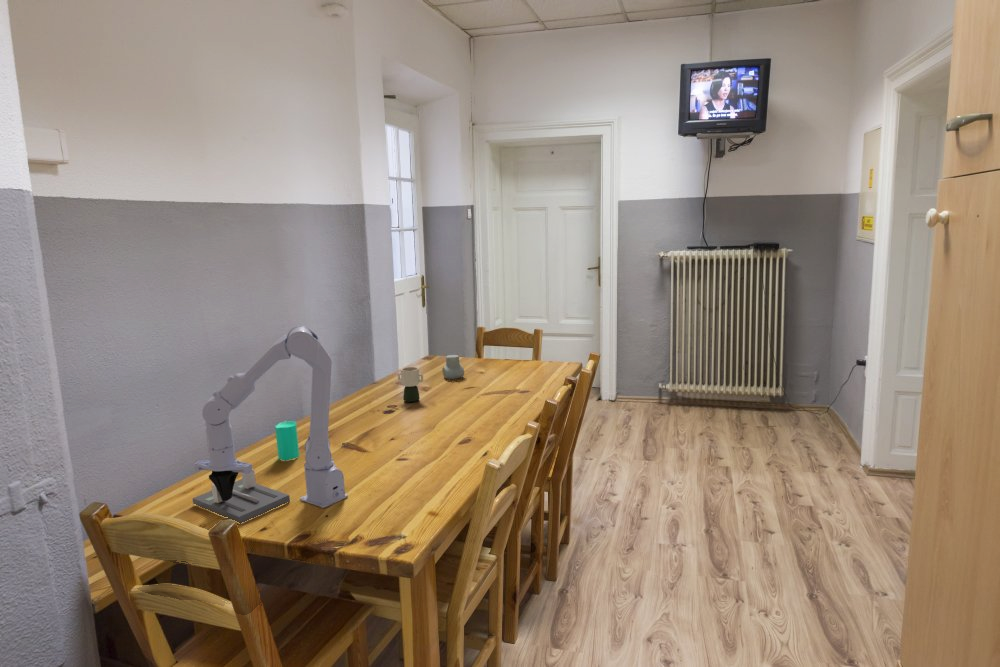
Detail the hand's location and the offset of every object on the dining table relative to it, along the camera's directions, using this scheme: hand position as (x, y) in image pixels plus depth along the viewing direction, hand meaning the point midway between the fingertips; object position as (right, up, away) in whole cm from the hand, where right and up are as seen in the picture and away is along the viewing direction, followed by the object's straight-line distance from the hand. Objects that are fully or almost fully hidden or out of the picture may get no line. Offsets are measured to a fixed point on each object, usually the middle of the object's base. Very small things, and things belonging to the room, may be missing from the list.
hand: (227, 499), depth 155 cm
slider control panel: (+2, -3, +5) cm, 6 cm away
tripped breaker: (-3, -1, +2) cm, 3 cm away
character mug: (+32, +14, +93) cm, 99 cm away
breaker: (+2, +1, +10) cm, 10 cm away
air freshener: (+46, +20, +128) cm, 138 cm away
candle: (+3, +3, +36) cm, 37 cm away
